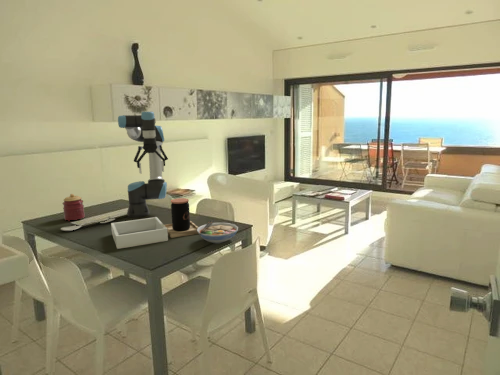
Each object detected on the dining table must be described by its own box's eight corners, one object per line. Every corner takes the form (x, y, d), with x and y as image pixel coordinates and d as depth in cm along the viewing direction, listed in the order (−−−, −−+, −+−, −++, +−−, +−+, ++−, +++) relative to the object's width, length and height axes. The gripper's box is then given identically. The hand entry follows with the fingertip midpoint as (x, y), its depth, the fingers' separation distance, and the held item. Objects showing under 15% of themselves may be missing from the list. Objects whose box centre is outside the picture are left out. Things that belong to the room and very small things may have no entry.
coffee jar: (186, 232, 215) (184, 202, 211) (169, 231, 217) (167, 201, 213) (192, 226, 225) (191, 198, 222) (176, 226, 227) (174, 197, 224)
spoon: (115, 222, 241) (115, 217, 241) (63, 234, 220) (63, 228, 219) (109, 220, 248) (109, 215, 247) (59, 231, 226) (58, 225, 226)
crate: (112, 234, 217) (111, 223, 215) (157, 227, 228) (156, 217, 227) (117, 248, 193) (116, 236, 192) (167, 240, 204) (167, 228, 203)
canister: (83, 215, 261) (81, 191, 258) (86, 219, 250) (83, 194, 247) (63, 218, 254) (60, 193, 251) (65, 222, 244) (62, 196, 240)
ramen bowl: (233, 250, 188) (232, 235, 186) (191, 248, 192) (190, 233, 190) (242, 234, 212) (242, 221, 211) (204, 233, 216) (204, 220, 215)
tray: (162, 228, 226) (162, 224, 226) (191, 224, 234) (190, 220, 233) (170, 238, 209) (170, 234, 208) (200, 233, 216) (200, 229, 216)
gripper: (128, 138, 212) (131, 174, 216) (171, 137, 222) (173, 171, 226) (127, 138, 218) (129, 173, 222) (168, 136, 229) (170, 169, 233)
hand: (151, 172), depth 224 cm, fingers open, 13 cm apart
